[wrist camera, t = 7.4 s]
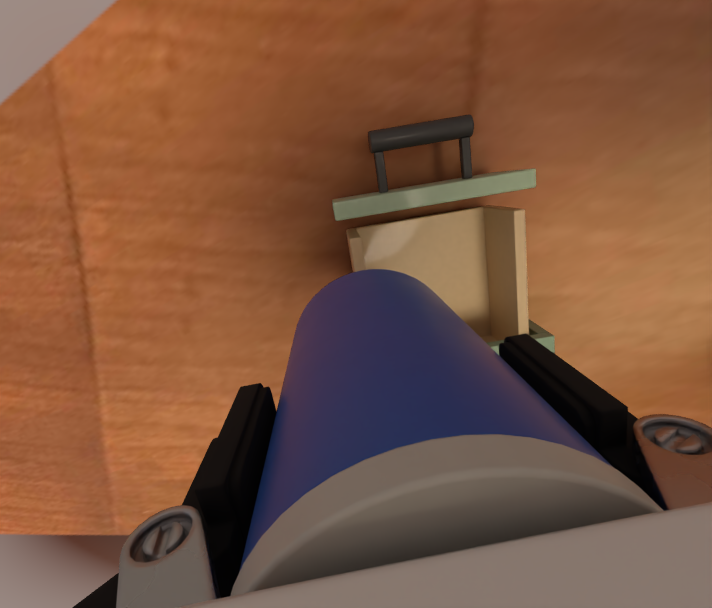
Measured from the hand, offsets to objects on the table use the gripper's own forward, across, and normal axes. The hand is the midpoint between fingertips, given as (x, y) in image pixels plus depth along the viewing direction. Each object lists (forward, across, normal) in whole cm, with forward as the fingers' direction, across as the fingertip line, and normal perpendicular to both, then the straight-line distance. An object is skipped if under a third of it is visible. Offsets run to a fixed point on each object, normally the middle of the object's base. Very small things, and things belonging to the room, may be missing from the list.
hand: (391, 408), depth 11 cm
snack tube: (+5, 0, 0) cm, 5 cm away
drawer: (+23, -6, 0) cm, 24 cm away
